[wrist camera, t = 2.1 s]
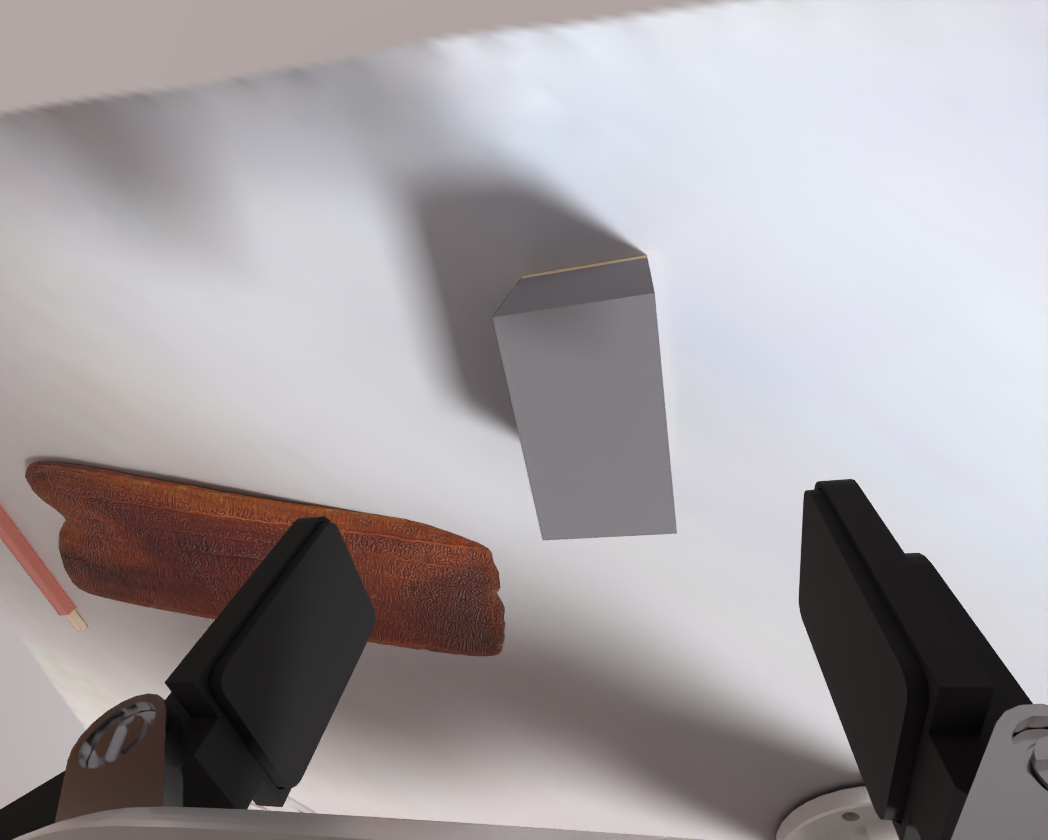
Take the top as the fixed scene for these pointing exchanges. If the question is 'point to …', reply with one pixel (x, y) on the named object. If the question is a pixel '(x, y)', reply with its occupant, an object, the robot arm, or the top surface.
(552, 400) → the sanding block
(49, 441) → the top surface
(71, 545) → the wooden tablet
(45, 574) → the carpenter pencil
